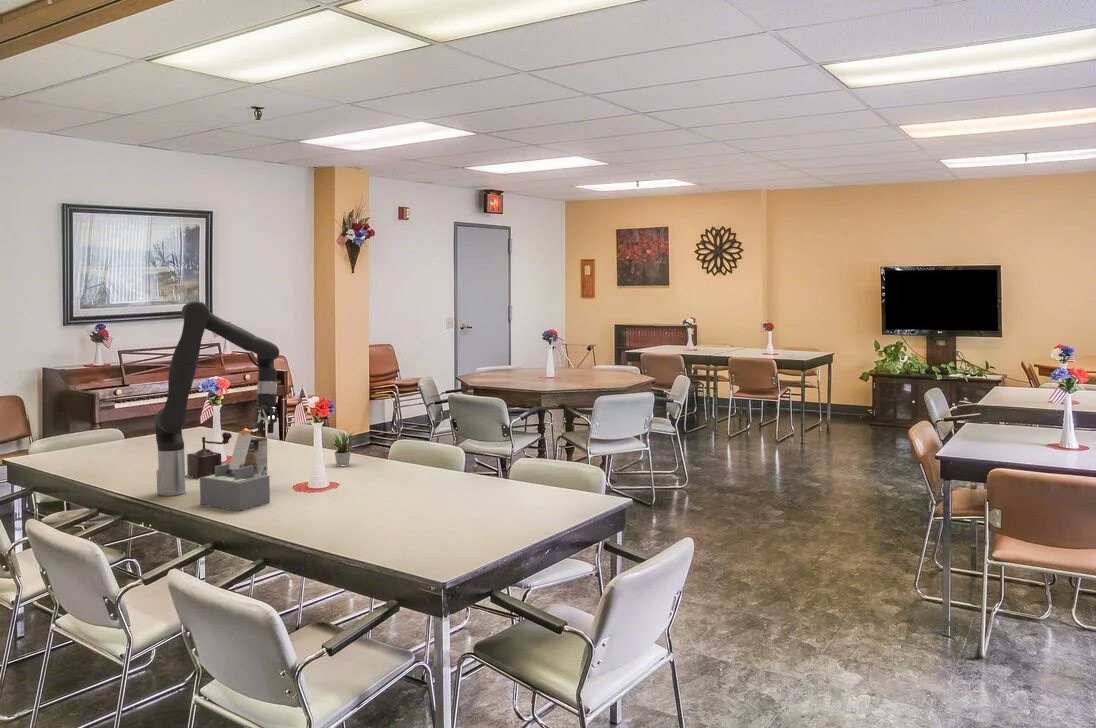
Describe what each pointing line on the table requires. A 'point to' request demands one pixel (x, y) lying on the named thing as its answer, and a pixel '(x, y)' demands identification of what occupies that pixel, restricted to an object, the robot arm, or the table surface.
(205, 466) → the manual coffee grinder
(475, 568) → the table surface
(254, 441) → the coffee box
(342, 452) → the house plant
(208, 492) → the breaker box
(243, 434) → the lever
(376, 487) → the table surface
